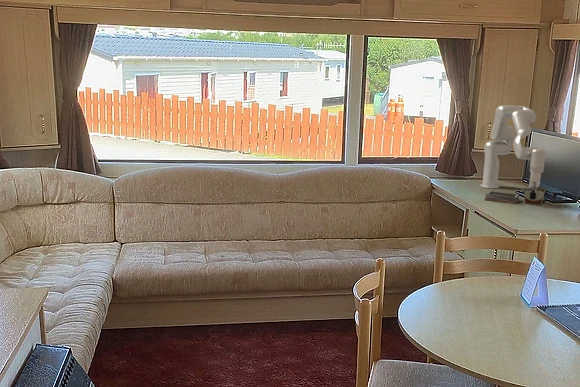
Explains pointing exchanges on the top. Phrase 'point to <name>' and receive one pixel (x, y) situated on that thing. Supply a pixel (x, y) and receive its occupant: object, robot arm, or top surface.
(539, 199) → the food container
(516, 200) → the cradle
